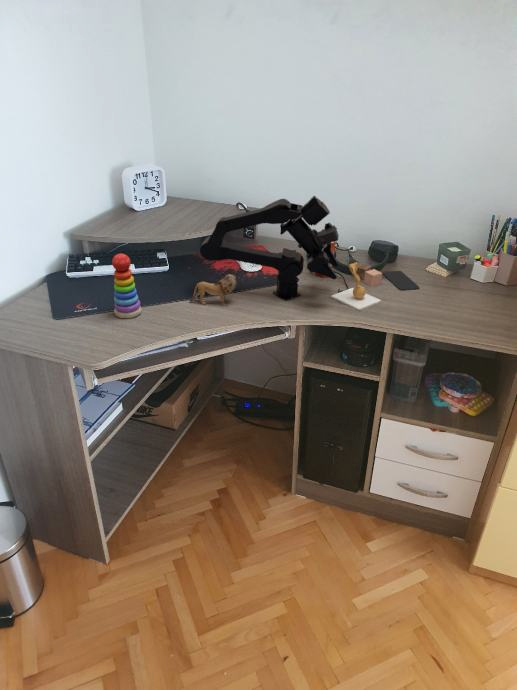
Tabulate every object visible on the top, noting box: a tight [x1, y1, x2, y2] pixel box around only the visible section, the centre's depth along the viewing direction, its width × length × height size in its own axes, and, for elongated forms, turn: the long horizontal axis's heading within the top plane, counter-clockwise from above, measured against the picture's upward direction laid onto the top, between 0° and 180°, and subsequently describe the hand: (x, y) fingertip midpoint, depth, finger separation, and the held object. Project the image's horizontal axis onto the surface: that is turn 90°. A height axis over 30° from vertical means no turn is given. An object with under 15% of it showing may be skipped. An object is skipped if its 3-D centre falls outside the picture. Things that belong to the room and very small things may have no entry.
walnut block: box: [353, 263, 372, 281], centre depth 187 cm, size 4×4×4 cm
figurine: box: [348, 261, 367, 299], centre depth 169 cm, size 8×6×12 cm
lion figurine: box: [189, 273, 237, 306], centre depth 168 cm, size 15×5×9 cm, turn 95°
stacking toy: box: [111, 253, 142, 319], centre depth 158 cm, size 8×8×19 cm
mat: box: [330, 287, 382, 311], centre depth 172 cm, size 12×10×1 cm
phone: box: [381, 270, 420, 292], centre depth 185 cm, size 7×1×15 cm
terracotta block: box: [363, 268, 383, 287], centre depth 183 cm, size 4×4×4 cm
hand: (336, 272), depth 169 cm, fingers open, 9 cm apart
